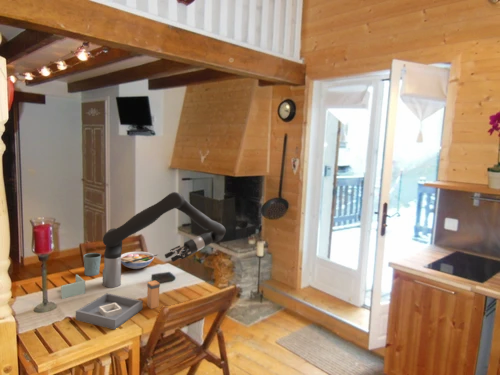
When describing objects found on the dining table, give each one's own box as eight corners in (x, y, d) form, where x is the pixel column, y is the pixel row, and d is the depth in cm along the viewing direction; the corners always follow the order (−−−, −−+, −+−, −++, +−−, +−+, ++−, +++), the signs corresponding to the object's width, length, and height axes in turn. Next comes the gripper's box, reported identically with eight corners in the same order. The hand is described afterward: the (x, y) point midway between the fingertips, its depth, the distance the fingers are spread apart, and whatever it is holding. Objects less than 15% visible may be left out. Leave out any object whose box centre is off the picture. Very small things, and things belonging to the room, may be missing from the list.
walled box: (75, 319, 174) (75, 311, 173) (106, 301, 195) (106, 293, 194) (115, 329, 168) (115, 320, 167) (142, 309, 189) (142, 300, 188)
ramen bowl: (142, 258, 262) (142, 247, 261) (162, 267, 248) (162, 255, 247) (110, 267, 243) (110, 255, 242) (129, 276, 229) (129, 264, 228)
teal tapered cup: (79, 274, 228) (79, 256, 226) (91, 269, 237) (91, 251, 235) (93, 277, 225) (93, 258, 223) (104, 272, 234) (104, 253, 233)
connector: (151, 309, 189) (151, 285, 187) (146, 305, 193) (147, 282, 191) (159, 306, 192) (159, 283, 191) (154, 303, 196) (155, 280, 194)
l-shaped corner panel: (77, 286, 211) (77, 274, 210) (85, 294, 203) (85, 281, 202) (54, 292, 203) (54, 279, 202) (62, 299, 195) (62, 286, 194)
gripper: (186, 236, 207) (161, 249, 199) (198, 241, 196) (171, 254, 187) (190, 248, 209) (165, 261, 201) (202, 253, 198) (176, 267, 189)
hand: (168, 258), depth 194 cm, fingers open, 8 cm apart
